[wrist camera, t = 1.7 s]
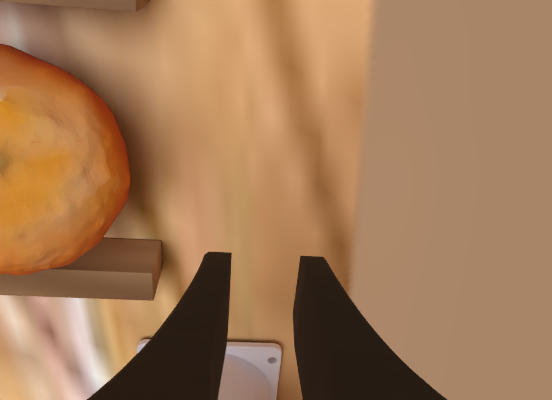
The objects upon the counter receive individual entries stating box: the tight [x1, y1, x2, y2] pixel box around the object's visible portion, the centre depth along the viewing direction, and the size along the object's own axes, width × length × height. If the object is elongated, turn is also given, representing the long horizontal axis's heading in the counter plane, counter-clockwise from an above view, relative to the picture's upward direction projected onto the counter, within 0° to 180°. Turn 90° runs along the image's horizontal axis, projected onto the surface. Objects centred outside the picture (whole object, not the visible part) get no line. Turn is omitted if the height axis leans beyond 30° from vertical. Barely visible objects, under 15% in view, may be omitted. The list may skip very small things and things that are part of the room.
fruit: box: [0, 44, 131, 275], centre depth 19 cm, size 8×8×8 cm
